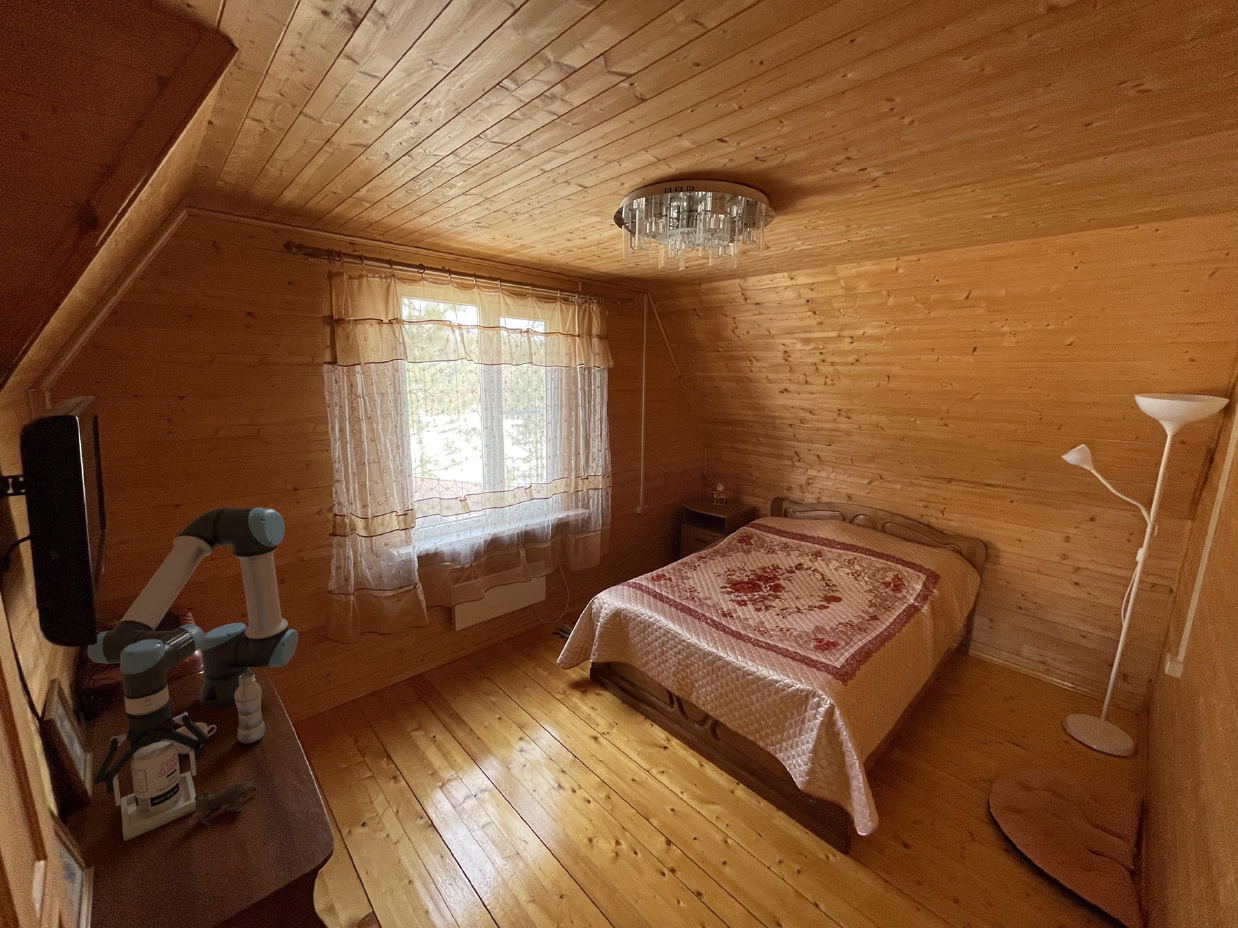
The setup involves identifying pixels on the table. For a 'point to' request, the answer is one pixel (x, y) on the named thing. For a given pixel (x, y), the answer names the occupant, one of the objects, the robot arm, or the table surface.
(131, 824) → the can tray
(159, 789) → the supplement can
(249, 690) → the plastic bottle
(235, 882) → the table surface
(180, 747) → the teacup
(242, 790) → the dog figurine
